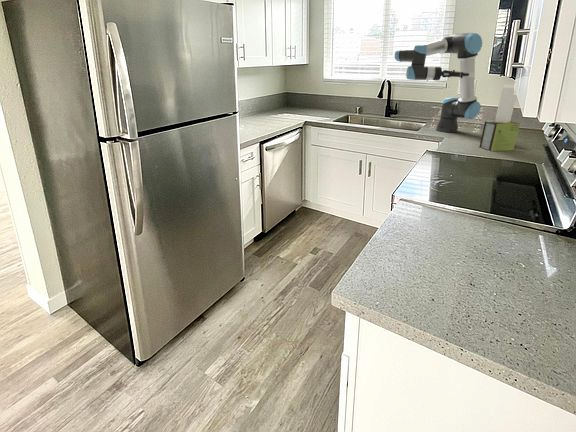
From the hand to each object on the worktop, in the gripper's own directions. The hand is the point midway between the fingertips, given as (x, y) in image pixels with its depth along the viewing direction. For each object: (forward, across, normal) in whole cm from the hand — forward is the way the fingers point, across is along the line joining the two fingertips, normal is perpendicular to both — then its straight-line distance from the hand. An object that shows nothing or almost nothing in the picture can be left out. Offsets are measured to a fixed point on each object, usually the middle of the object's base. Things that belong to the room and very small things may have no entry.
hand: (469, 74), depth 221 cm
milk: (+17, +18, -25) cm, 35 cm away
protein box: (+17, +18, -40) cm, 47 cm away
